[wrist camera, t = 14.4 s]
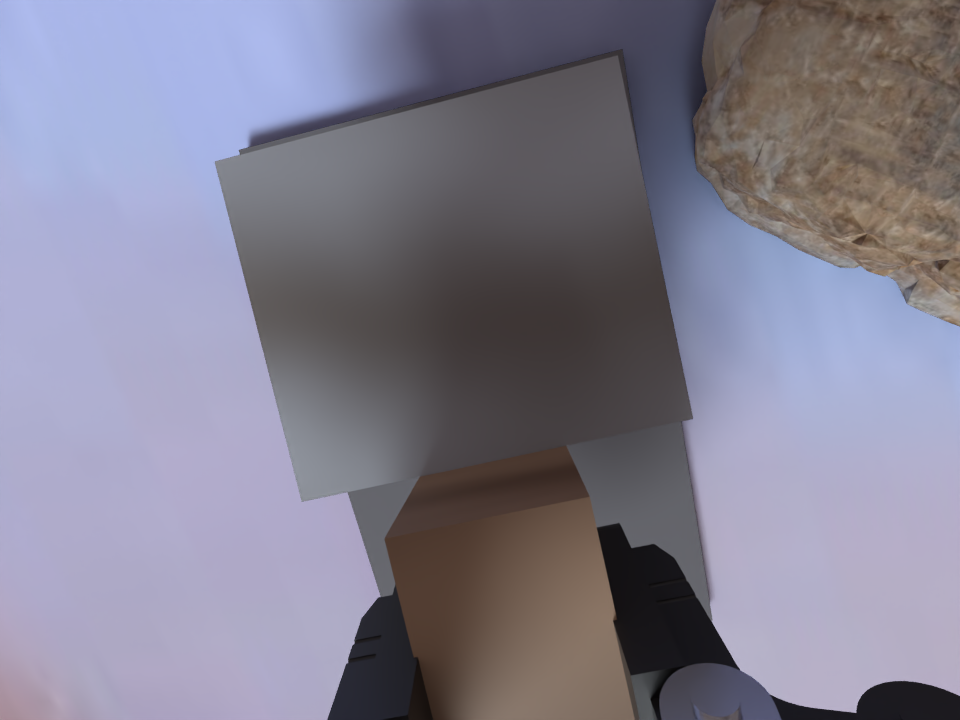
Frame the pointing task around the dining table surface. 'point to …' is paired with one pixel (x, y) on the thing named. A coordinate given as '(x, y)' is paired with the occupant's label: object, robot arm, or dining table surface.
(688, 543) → the mat
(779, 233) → the clay tablet
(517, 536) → the turner
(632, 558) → the robot arm
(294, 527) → the dining table surface
